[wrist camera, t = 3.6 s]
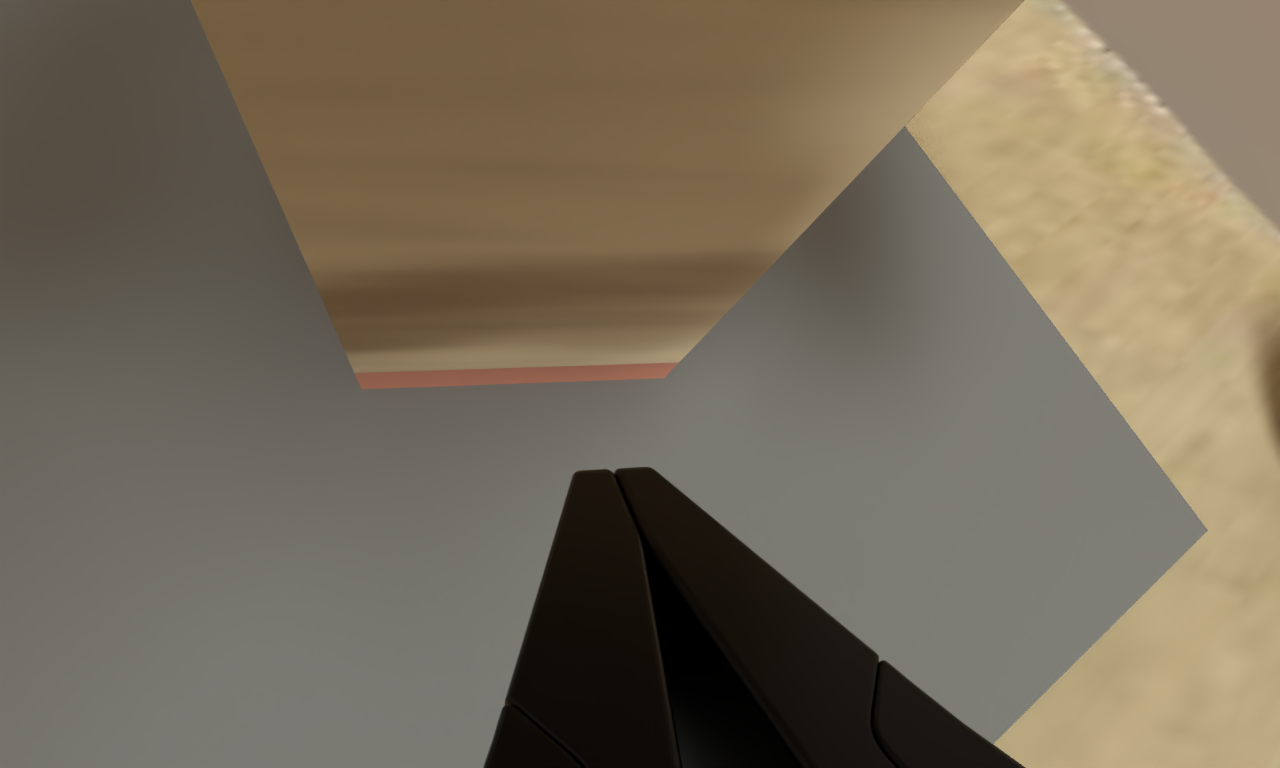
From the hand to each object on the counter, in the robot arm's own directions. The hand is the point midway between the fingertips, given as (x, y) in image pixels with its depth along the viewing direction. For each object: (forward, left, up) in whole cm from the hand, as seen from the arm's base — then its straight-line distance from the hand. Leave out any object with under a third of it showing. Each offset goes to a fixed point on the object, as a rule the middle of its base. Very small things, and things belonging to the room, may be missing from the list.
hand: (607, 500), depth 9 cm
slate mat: (+4, -2, -8) cm, 9 cm away
